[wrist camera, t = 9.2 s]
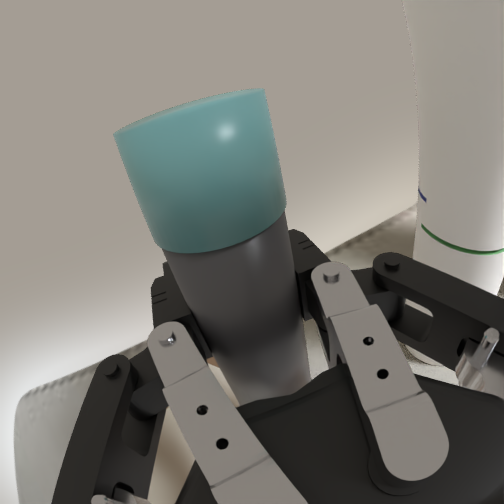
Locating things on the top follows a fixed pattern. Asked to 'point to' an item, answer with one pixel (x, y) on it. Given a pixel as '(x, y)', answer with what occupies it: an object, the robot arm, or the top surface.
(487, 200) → the cylindrical container
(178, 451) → the clipboard
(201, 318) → the marker
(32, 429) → the top surface
